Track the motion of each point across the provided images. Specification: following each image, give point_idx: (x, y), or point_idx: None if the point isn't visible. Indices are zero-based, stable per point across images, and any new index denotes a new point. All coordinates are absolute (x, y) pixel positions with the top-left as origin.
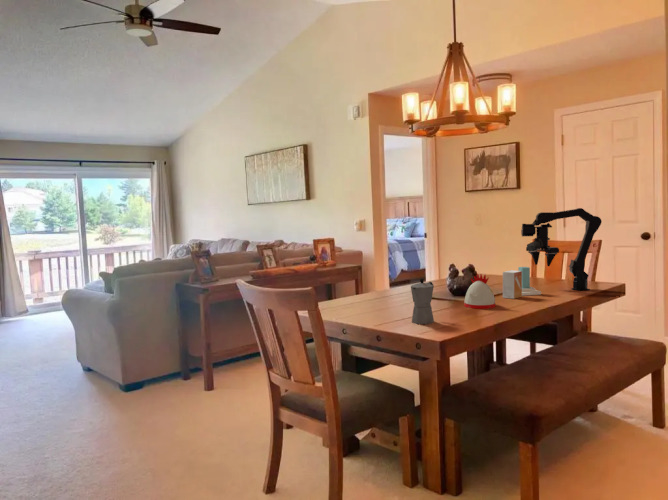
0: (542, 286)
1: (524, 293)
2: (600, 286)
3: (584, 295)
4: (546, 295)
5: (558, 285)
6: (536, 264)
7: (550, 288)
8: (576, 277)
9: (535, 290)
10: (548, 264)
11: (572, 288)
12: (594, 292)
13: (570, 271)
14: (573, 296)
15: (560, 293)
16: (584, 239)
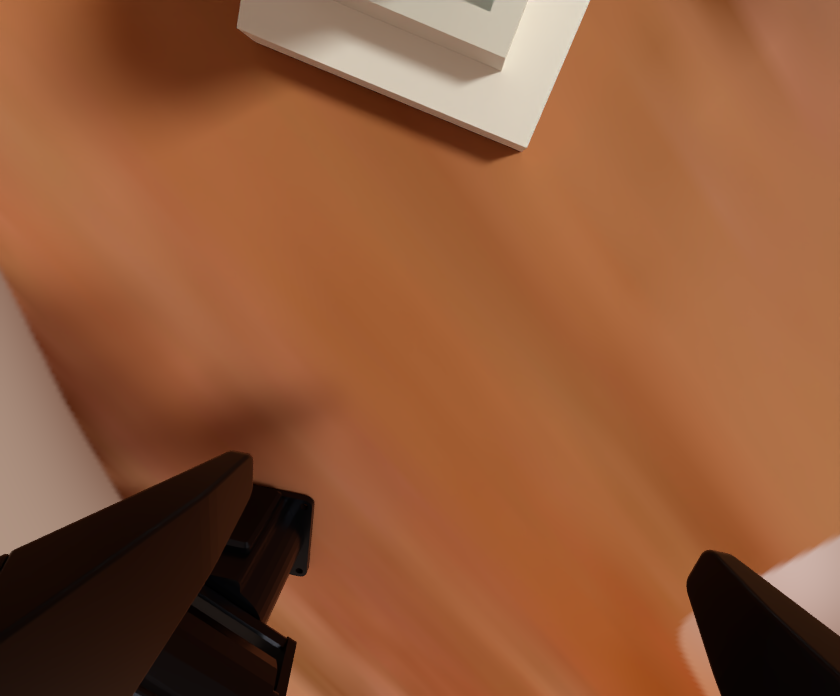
0: (581, 470)
1: None
2: (289, 682)
3: (40, 333)
4: (179, 40)
5: (508, 581)
6: (695, 567)
7: (457, 429)
8: (202, 589)
9: (336, 36)
10: (185, 482)
11: (295, 498)
12: (124, 489)
13: (248, 664)
14: (28, 220)
15: (207, 268)
16: None
